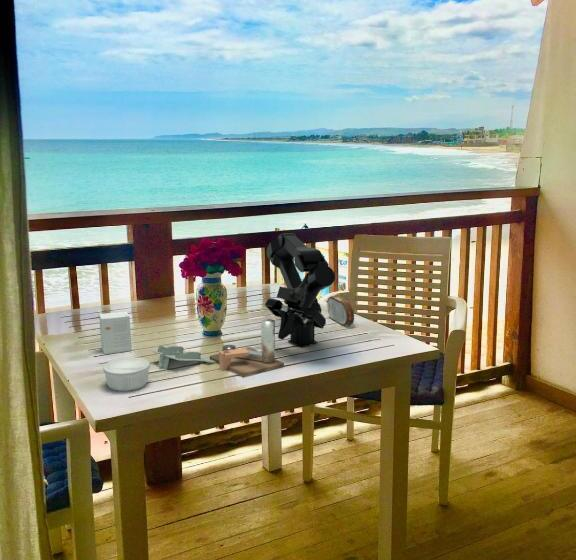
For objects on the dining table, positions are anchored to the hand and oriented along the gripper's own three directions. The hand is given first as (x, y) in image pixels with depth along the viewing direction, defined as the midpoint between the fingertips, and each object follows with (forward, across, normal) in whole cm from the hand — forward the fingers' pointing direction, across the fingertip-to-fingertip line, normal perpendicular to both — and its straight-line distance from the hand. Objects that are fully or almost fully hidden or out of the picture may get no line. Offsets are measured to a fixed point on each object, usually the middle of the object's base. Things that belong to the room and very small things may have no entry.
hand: (279, 338), depth 174 cm
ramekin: (+32, -16, -22) cm, 42 cm away
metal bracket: (+18, -19, -8) cm, 28 cm away
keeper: (+13, -5, -3) cm, 14 cm away
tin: (-24, -12, +34) cm, 43 cm away
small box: (+23, -41, -13) cm, 49 cm away
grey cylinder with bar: (+8, -6, -1) cm, 10 cm away
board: (+10, -6, 0) cm, 11 cm away
